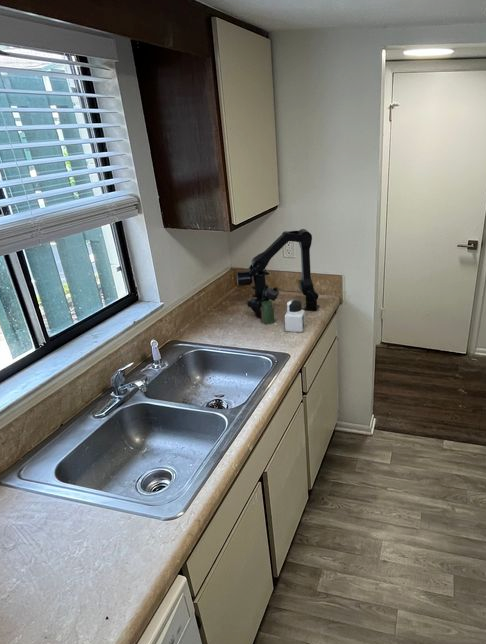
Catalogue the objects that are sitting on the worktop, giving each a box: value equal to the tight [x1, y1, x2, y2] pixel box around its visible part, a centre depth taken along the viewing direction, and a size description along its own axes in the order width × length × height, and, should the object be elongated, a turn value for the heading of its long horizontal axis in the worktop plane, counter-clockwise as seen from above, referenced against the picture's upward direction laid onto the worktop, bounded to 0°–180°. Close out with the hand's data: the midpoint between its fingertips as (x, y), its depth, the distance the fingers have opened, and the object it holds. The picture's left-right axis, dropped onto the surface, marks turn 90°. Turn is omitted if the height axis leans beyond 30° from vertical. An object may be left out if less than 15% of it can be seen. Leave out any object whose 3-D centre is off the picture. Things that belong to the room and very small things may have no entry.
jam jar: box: [261, 300, 275, 325], centre depth 203 cm, size 6×6×10 cm
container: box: [284, 299, 306, 333], centre depth 195 cm, size 8×8×13 cm
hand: (262, 313), depth 213 cm, fingers open, 8 cm apart
